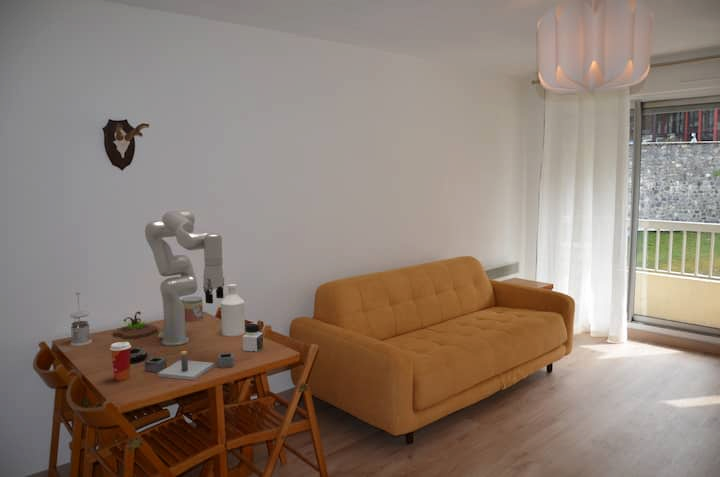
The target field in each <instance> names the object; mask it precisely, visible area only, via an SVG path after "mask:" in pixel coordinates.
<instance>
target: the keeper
mask: <svg viewBox="0 0 720 477" xmlns="http://www.w3.org/2000/svg"><path fill="white" fill-rule="evenodd" d="M180 358H181V359H180V360H177V361H176V362H175V363H173V364H171V365H169V366H168V367H167V366H166V368H164V369H163V370H161V371H159V372H157V377H159V378H169V379H177V380H178V379H179V380H185V381H187V380H188V381H195V380H196V379H198V378H199V377H201V376H202V375H203V374H205V373H206V372H208V371H210V370H212V369H213V368H214V367H215V363H214V362H206V361H200V360H199V361H198V360H197V361H196V360H188V351H187V350H182V351H180Z"/></svg>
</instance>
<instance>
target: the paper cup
mask: <svg viewBox="0 0 720 477" xmlns="http://www.w3.org/2000/svg"><path fill="white" fill-rule="evenodd" d="M131 347H132V345H131V344H130V342H129V341H118V342H114V343H111V345H110V348H109V349H110V352H111V361H112V369H113V376H114V377H113V378H114V380H115V381H119V382H120V381H121V380H122V381H126V380H128V379H130V377H131V363H130V349H131Z"/></svg>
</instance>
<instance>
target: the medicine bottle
mask: <svg viewBox="0 0 720 477" xmlns="http://www.w3.org/2000/svg"><path fill="white" fill-rule="evenodd" d="M263 339H264V334H263V332H260V324H258V323H257V322H250V323H247V324H245V333H244V334H243V335H242V351H244V352H253V351H255V352H256V353H258V352H259V351H260V350H261V349H263V347H264V340H263ZM255 352H254V353H255Z"/></svg>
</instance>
